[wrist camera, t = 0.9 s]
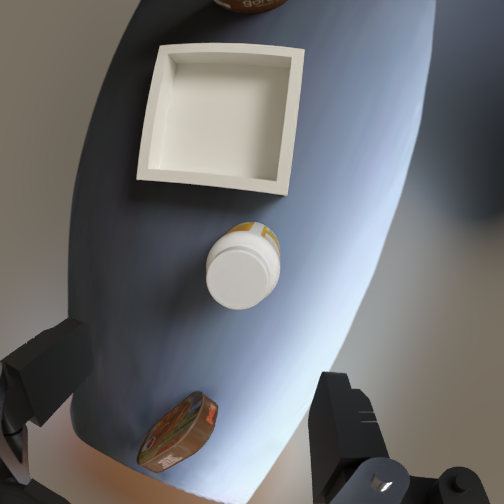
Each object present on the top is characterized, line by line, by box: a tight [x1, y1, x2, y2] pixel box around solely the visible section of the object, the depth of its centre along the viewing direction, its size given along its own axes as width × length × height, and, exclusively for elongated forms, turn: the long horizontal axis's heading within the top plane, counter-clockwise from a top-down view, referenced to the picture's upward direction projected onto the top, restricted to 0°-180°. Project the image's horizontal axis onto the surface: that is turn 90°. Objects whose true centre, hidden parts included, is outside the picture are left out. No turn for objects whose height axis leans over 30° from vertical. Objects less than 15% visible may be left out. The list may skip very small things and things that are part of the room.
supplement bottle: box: [206, 222, 280, 310], centre depth 23 cm, size 5×5×10 cm
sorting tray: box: [136, 43, 305, 196], centre depth 24 cm, size 13×13×4 cm
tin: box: [137, 392, 218, 473], centre depth 29 cm, size 15×3×8 cm, turn 138°
